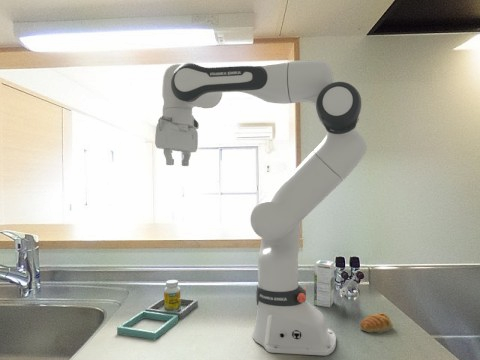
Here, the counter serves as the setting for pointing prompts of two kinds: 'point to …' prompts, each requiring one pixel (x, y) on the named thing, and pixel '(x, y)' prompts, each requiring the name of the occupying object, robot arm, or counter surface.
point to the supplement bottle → (172, 296)
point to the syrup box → (324, 283)
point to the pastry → (376, 323)
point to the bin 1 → (145, 333)
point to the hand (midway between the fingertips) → (178, 165)
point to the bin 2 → (181, 314)
